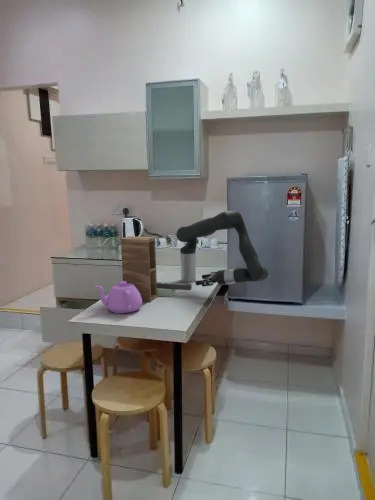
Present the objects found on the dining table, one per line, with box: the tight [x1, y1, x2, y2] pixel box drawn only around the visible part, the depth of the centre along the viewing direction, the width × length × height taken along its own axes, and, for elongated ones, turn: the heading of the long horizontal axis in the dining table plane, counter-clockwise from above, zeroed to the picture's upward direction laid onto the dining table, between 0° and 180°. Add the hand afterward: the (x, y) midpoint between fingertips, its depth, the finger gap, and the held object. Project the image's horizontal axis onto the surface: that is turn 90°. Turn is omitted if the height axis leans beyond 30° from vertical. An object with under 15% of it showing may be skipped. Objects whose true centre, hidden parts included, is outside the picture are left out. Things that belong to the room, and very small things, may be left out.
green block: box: [157, 288, 177, 298], centre depth 211 cm, size 7×16×4 cm, turn 71°
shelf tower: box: [120, 235, 158, 303], centre depth 201 cm, size 9×15×32 cm, turn 71°
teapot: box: [95, 280, 143, 314], centre depth 185 cm, size 22×22×14 cm
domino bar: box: [157, 281, 193, 291], centre depth 209 cm, size 3×24×3 cm, turn 72°
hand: (199, 280), depth 203 cm, fingers open, 8 cm apart
